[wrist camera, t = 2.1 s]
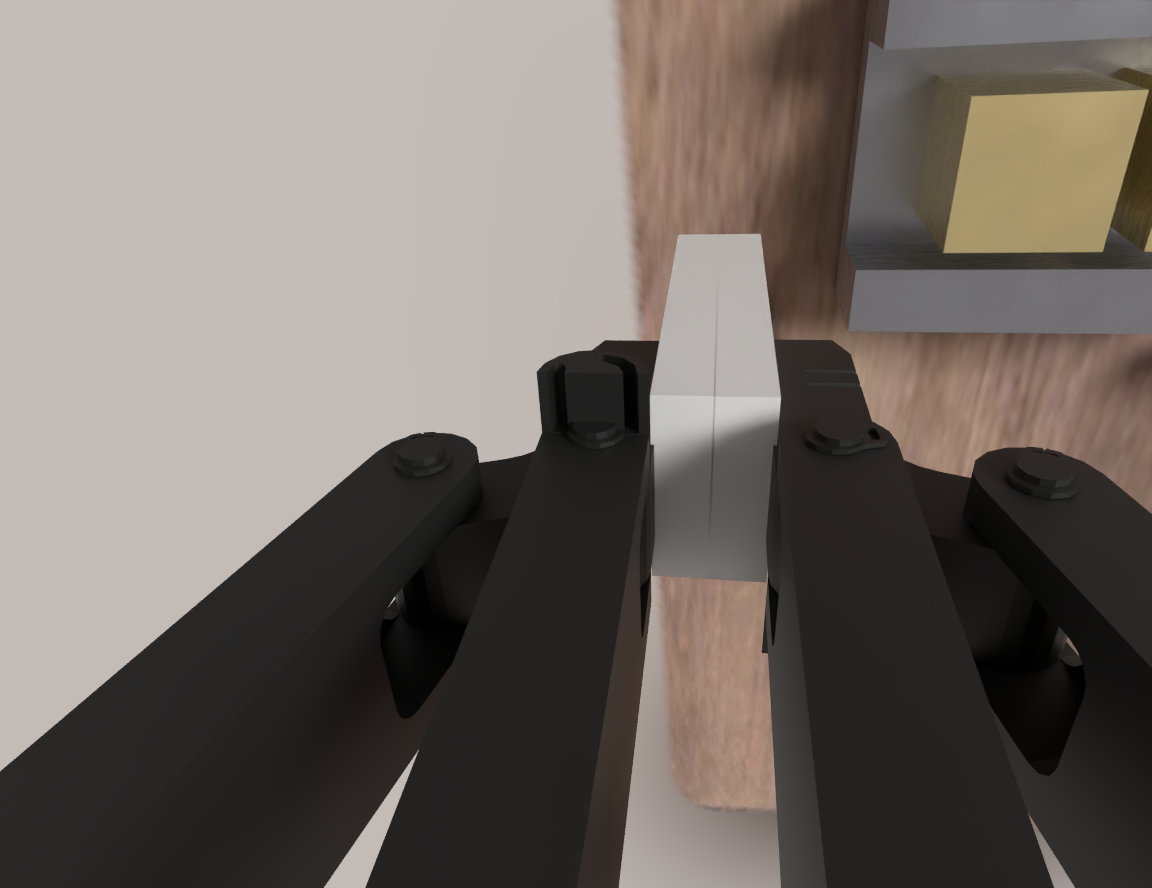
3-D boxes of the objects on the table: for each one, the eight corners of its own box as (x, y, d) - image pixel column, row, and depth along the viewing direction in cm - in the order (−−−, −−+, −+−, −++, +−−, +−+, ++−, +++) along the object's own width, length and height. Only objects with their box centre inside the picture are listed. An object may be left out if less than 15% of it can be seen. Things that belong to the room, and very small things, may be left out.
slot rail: (872, -41, 23) (894, -39, 20) (1349, -72, 21) (1456, -76, 18) (835, 289, 28) (847, 331, 25) (1215, 289, 26) (1280, 335, 23)
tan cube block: (937, 75, 23) (972, 96, 20) (1087, 68, 23) (1148, 89, 19) (915, 213, 25) (943, 252, 22) (1052, 210, 25) (1102, 252, 21)
